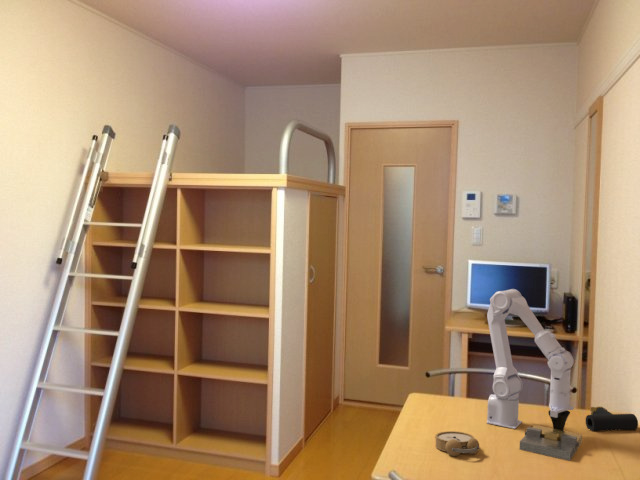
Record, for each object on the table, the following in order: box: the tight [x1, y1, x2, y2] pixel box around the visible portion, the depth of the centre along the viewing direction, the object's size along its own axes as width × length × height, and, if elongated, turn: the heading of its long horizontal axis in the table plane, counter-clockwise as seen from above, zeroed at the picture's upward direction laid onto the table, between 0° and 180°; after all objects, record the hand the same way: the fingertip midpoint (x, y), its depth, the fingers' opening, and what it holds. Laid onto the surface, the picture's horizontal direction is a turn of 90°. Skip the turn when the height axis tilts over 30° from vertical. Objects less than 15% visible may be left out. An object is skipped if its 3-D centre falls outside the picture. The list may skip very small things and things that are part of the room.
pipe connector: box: [585, 406, 639, 432], centre depth 202 cm, size 12×5×15 cm
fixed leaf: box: [519, 426, 579, 462], centre depth 180 cm, size 15×9×4 cm, turn 56°
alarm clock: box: [434, 430, 480, 457], centre depth 179 cm, size 11×5×15 cm
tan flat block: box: [531, 424, 583, 451], centre depth 186 cm, size 14×9×4 cm, turn 56°
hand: (558, 434), depth 191 cm, fingers closed
